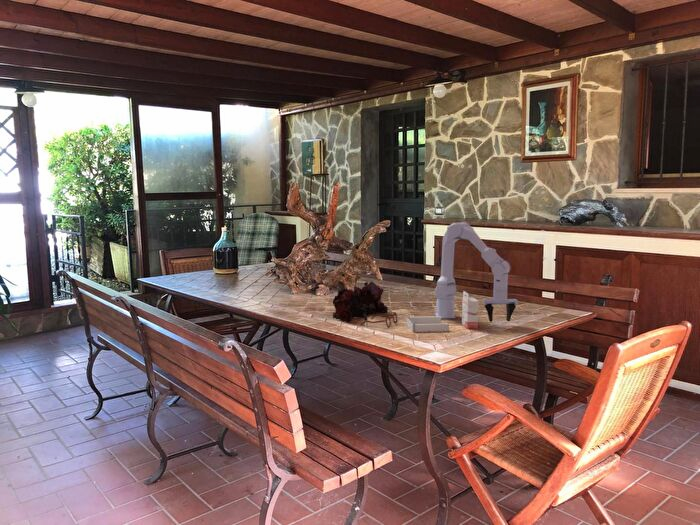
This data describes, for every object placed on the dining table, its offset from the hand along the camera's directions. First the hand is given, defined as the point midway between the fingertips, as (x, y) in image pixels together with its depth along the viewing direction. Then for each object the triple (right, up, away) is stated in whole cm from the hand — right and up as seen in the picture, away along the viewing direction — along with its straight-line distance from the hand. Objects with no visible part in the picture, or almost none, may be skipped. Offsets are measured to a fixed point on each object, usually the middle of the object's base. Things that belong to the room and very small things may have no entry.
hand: (499, 321), depth 232 cm
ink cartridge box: (-13, -2, -1) cm, 13 cm away
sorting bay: (-31, -2, -2) cm, 31 cm away
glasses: (-51, -2, +6) cm, 52 cm away
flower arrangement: (-60, 0, +23) cm, 64 cm away
